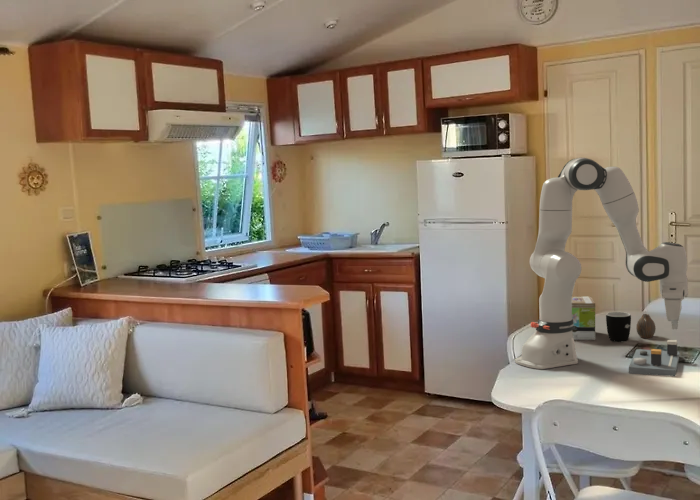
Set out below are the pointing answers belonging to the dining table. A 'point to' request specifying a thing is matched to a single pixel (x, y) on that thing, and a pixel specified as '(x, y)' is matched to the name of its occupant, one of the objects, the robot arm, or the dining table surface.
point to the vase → (645, 326)
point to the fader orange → (656, 356)
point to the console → (644, 366)
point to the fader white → (672, 347)
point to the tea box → (583, 318)
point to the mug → (618, 326)
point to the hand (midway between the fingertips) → (674, 328)
